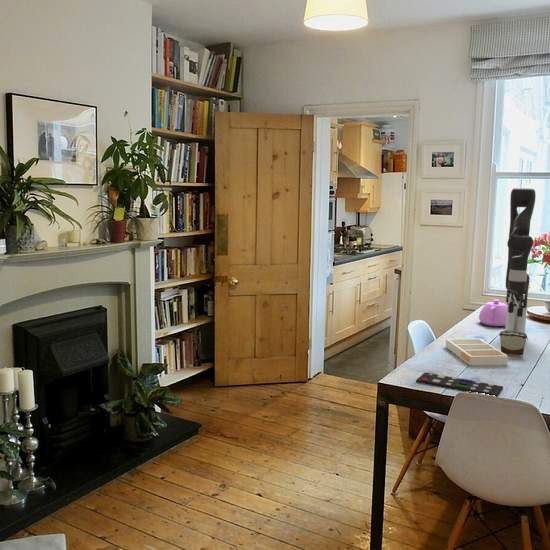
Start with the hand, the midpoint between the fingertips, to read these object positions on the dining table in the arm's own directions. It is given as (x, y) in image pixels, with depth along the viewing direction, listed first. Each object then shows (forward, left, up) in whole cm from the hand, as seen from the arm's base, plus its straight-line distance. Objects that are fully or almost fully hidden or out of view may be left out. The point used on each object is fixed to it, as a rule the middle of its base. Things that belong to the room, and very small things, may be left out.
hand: (515, 314), depth 273 cm
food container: (0, 0, -18) cm, 18 cm away
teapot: (-54, +19, -18) cm, 60 cm away
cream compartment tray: (+3, -19, -18) cm, 26 cm away
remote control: (+42, -42, -19) cm, 62 cm away
